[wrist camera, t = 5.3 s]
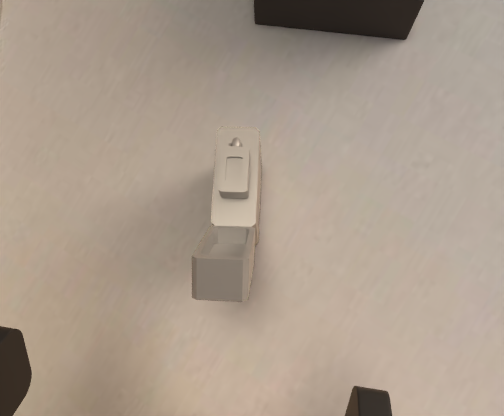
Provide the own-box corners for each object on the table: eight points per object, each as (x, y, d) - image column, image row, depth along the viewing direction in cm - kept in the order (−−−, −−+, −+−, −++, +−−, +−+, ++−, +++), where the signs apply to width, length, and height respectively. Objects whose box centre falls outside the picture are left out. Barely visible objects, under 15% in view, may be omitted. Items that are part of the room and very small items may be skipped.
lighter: (226, 162, 23) (204, 79, 15) (261, 163, 23) (257, 80, 15) (217, 308, 21) (187, 298, 14) (255, 310, 21) (246, 301, 14)
